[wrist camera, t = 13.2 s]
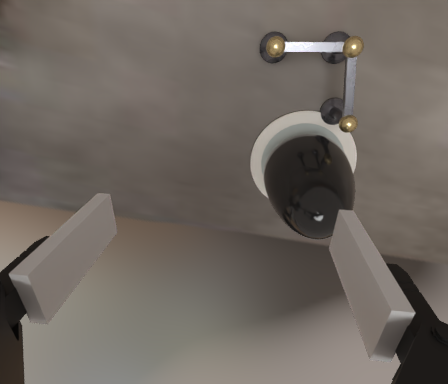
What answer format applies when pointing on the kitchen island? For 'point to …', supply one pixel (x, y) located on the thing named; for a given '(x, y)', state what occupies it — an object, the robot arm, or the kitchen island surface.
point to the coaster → (291, 127)
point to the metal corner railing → (332, 53)
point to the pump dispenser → (309, 184)
